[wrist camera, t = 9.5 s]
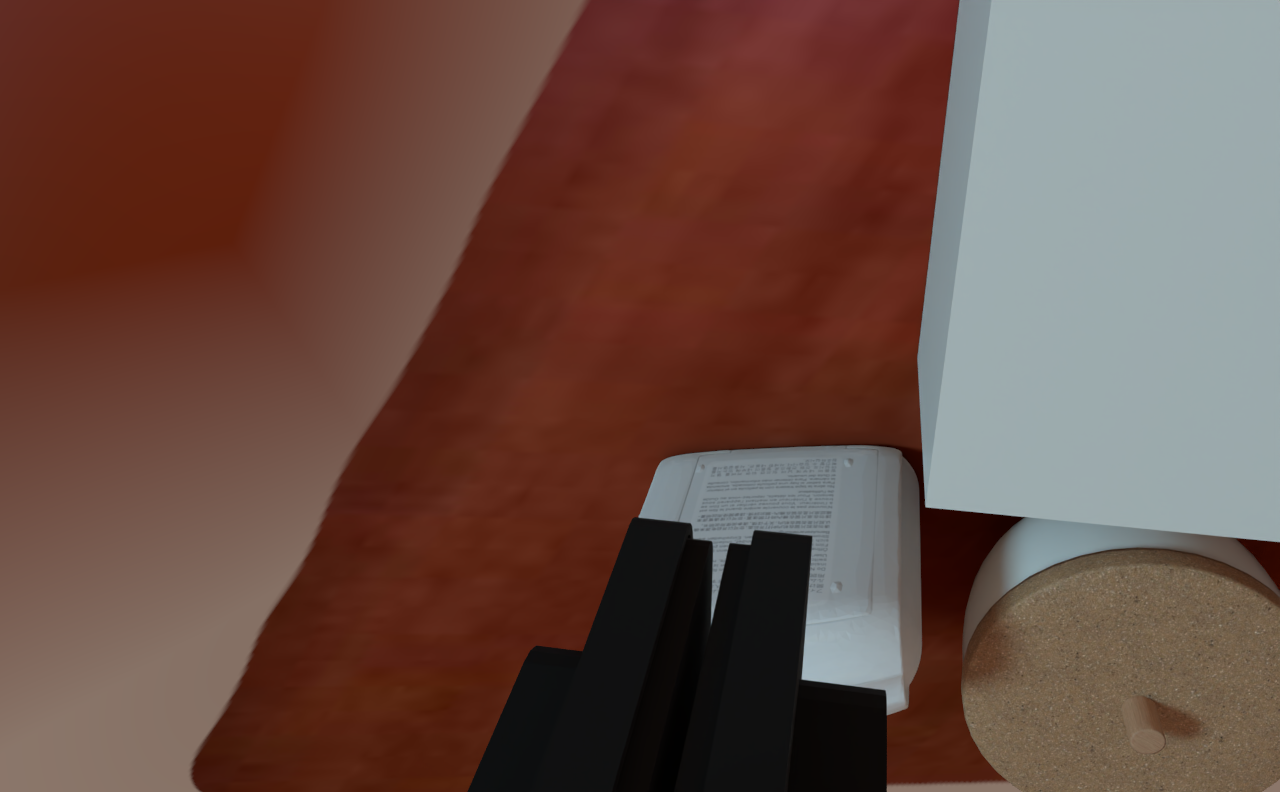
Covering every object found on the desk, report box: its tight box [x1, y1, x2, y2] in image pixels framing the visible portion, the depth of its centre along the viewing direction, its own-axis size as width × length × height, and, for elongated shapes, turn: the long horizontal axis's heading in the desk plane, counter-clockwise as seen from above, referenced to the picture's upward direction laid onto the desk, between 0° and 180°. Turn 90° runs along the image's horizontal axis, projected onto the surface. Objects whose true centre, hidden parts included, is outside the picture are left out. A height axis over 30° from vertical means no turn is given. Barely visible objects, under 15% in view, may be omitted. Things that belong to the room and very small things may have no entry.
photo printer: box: [639, 445, 922, 715], centre depth 38 cm, size 10×4×12 cm, turn 100°
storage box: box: [918, 0, 1280, 542], centre depth 31 cm, size 10×16×10 cm, turn 0°
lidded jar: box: [961, 517, 1280, 792], centre depth 38 cm, size 11×11×9 cm
